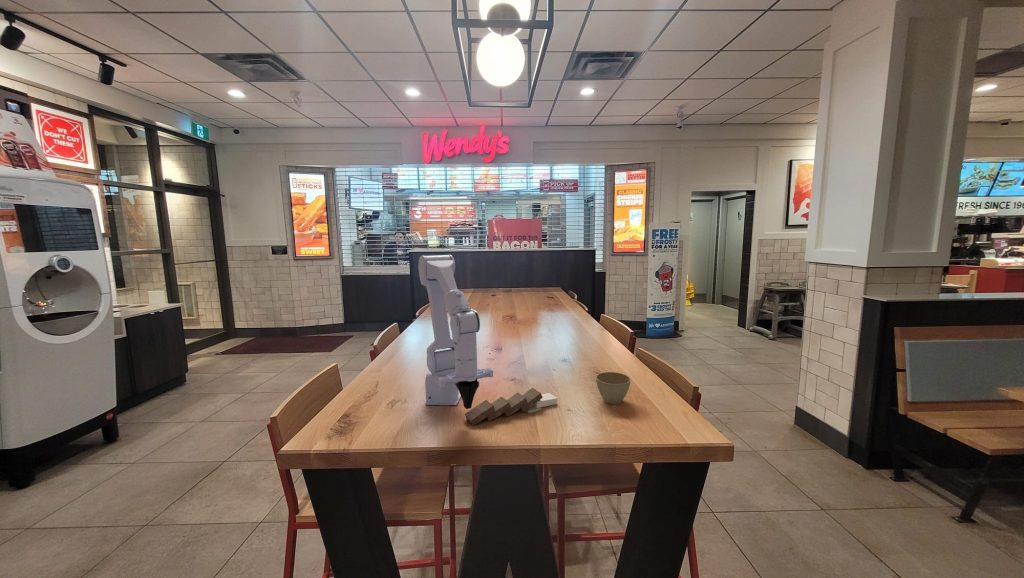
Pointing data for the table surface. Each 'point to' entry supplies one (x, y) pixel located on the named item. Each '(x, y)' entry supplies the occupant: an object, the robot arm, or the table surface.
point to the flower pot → (613, 386)
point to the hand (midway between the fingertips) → (467, 407)
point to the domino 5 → (546, 400)
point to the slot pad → (533, 409)
